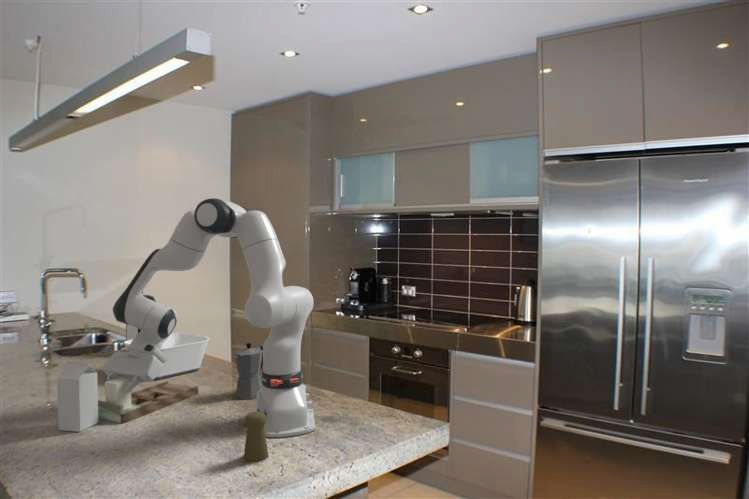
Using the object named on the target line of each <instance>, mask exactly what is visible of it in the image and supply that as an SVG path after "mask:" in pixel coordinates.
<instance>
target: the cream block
mask: <svg viewBox="0 0 749 499" xmlns="http://www.w3.org/2000/svg"><path fill="white" fill-rule="evenodd" d="M130 382H132V379H128V378H122V377H116V379H113V380H110V381H107V380H106V381H105V382H104V385H105V387H104V390H105V393H104V394H105V396H104V397H105V402H110V403H115V404H120V405H123V407H124V410H125V409H127V408H130V407H131V393H132V391H131V392H130V393H129V392H125V391H124V387H125V386H126V384H127V385H128V384H129V383H130Z"/></svg>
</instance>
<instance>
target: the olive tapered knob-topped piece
mask: <svg viewBox="0 0 749 499" xmlns="http://www.w3.org/2000/svg"><path fill="white" fill-rule="evenodd" d="M244 417H245V418H244V425H245V427H246V434H245V441H244V442H245V444H244V451H243V461H244V462H246V463H249V462H258V463H260V462H259V461H262V460H265V459H266V458H267V459H269V450H268V443H267V437H266V435H265V429H264V426H265V424H266V415H265V414H264V413H262V412H256V411H252V412H249V413H247V414H246V415H245V416H244ZM267 459H266V460H267ZM266 460H265V461H266ZM262 462H263V461H262Z"/></svg>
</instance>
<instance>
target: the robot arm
mask: <svg viewBox="0 0 749 499" xmlns="http://www.w3.org/2000/svg"><path fill="white" fill-rule="evenodd" d="M216 236H219V237H221V238H233V239H238V241H239V244H240V246H241V251H242V253H243V256H244V257H243V258H244V259H245V263H246V265H247V270H248V274H249V277H250V278H249V279H250V292H249V296H248V299H247V300H246V303H245V306H244V315H245V318H246V320H247V321H248V323H249V324H250V325H252V326H253V327H255V328H261V329H262V328H263V329H270V332H269V335H268V337H267V338H266V340H265V341H264V342H263V345H262V346H263V365H262V370H261V375H260V378H261V383H262V387H261V388H260V389H259V390H258V391H257V398H256V400H255V401H256V402H255V404H256V406H255V410H256V411H255V412H262V413H264V414H265V415H266V424H265V426H264V429H265V435H266V438H268V437H269V438H284V437H285V438H286V437H293V436H298V435H304V434H307V433H310V432H313V431H315V430H316V423H315V416H314V414H315V413H314V409H313V400H307V399H309V398H310V393H309V392H307V386H306V385H305V384H303V382H304V379H303V371H302V370H303V369H302V368H301V353H302V352H301V347H302V338H303V334H304V330H305V326H306V323H307V320H308V317H309V315H310V314H311V312H312V311H313V309H314V301H315V300H314V297H313V295H312V293H311V291H310V290H309V289H308V288H306V287H302V286H298V285H288V286H284V283H283V272H284V270H285V269H286V266H287V265H286V264H287V261H286V259H285V256H284V254H283V251H282V248H281V244H280V242H279V239H278V237H277V236H278V235H277V234H276V231H275V229H274V227H273V225H272V223H271V220H270V219H269V217H268V216H267V214H266V213H265V212H264V211H261V210H248V209H247V208H246V207H245V206H243V205H239V204H236V203H234V202H232V201H230V200H225V199H220V198H207V199H204V200H201V202H199V203H198V204H197V206H196V207H195V209H193V210H188V211H187V212H184V214H183V216H182V217H181V219H180V220H179V221H178V223H177V225H176V226H175V228H174V229H173V233H172V235H171V237H170V238H169V241H168V242H167V243H166V244H165V245H164V246H163V247H162V248H156V249H155V250H154V251H152V252H151V253H150V254H149V255H148V256H147V258H146V259H145V261H143V263H142V264H141V265H140V267H139V269H138V271H137V272H136V274H135V275H134V276H133V278H132V279H131V281H130V282H129V284H128V285H127V287H126V288H125V290H124V291H123V292H122V293H121V295H120V296H119V297H118V299H117V300H116V301H115V302H114V305H113V307H112V313H113V316H114V318H115V320H116V321H117V322H119V323H121V324H125V325H126V324H128V325H131V326H134V327H136V328H138V329H140V330H141V331H140V332H139V333H138V334H137V335H136V336H135V338H134V339H133V340H132V342H131V343H130V345H129V346H128V348H127V349H121V348H120V349H121V350H120V349H119V350H117V351H114V353H113V354H112V355H111V356H110V357H109V358H108V359H107V360H106V362H105V363H104V364H103V365H102V368H101V371H102V372H103V373H104V374H106V376H107V378H106V382H107V381H110V380H114V379H117V378H124V379H130V380H131V382H130V383H129V384H128V385H127V384H126V386H125V387H124V391H125V392H129V393H130V392H131V393H132V391H133V390H134V388H136V387H137V386H138V385H139V384H140V383H141V382H148V383H150V382H152V381H154V380H156V379H155V378H156V376H157V375H158V373H159V372H160V370H161V368H162V365H163V364H162V363H164V362H165V361H166V360H167V357H166V356H165V355H164V354H163V353H162V352H161V351H160V349H161V346H162V344H163V342H164V341H165V340H166V339H167V338H168V337H169V336H170V334H171V333H173V331H174V329H175V328H176V325H177V322H178V319H179V314H178V312H177V311H176V309H174V307H172V306H170V305H167V304H162V303H160V302H157V301H156V302H155V301H153V300H150V299H148V298H146V297H144V296H143V295H144V294H143V293H142V291H143V292H144V290H145V288H146V286H147V285H148V284H149V283H150V281H151V279H152V278H153V276H154V275H155V274H156V273H157V272H160V271H170V272H184V271H189V270H192V269H194V268H196V267H197V266H198V265H199V264H200V262H201V261H202V258H203V257H204V254H205V253H206V250H207V247H208V246H209V243H210V241H211V240H212V238H214V237H216ZM103 387H104V388H105V384H103Z"/></svg>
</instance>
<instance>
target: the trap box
mask: <svg viewBox="0 0 749 499" xmlns="http://www.w3.org/2000/svg"><path fill="white" fill-rule="evenodd" d="M197 395H199V386H198V385H196V386H186V385H180V384H174V383H169V381H163V382H161V383H158V384H155V385H151V386H149V387H146V388H143V389H140V390H139V389H138V390H137V391H134V392H131V407H130V408H127V409H125V410H124V407H123V405H120V404H115V403H110V402H106V400H105V401H104V400H99V399H98V420H99V419H101V420H105V421H110V422H115V423H117V424H118V423H119V424H125V423H128V422H130V421H131V422H132V421H133V420H136V419H138V418H141V417H143V416H146V415H149V414H151V413H154V412H156V411H159V410H161V409H163V408H166V407H169V406H171V405H173V404H174V405H175V404H176V403H179V402H181V401H184V400H186V399H189V398H191V397H194V396H197Z"/></svg>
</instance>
